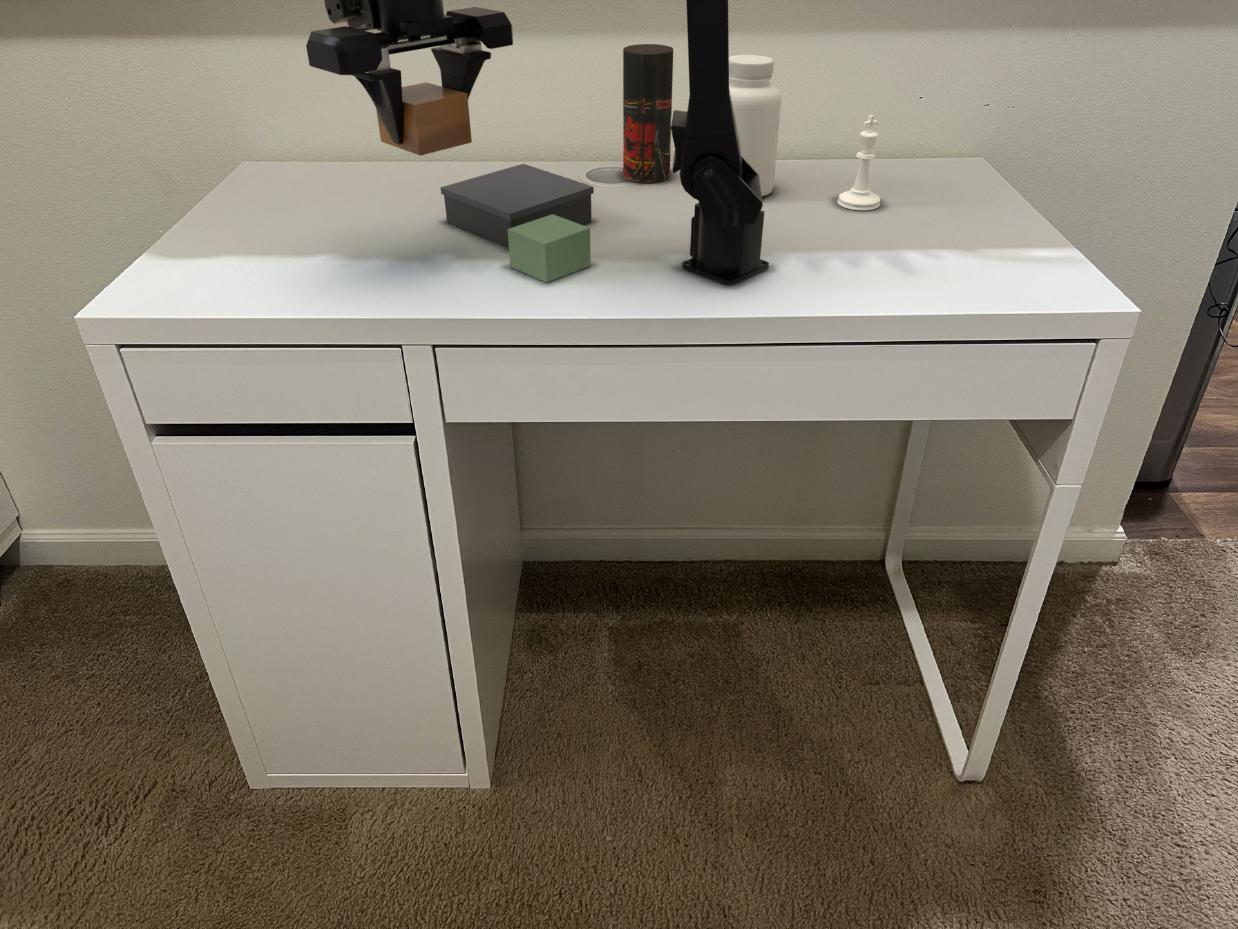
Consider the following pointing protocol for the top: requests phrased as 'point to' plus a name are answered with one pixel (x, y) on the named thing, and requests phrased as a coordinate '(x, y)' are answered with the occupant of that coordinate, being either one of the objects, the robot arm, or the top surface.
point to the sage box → (549, 247)
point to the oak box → (431, 119)
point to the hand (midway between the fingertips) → (426, 136)
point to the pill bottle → (756, 113)
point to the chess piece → (863, 174)
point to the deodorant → (647, 112)
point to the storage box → (514, 201)
